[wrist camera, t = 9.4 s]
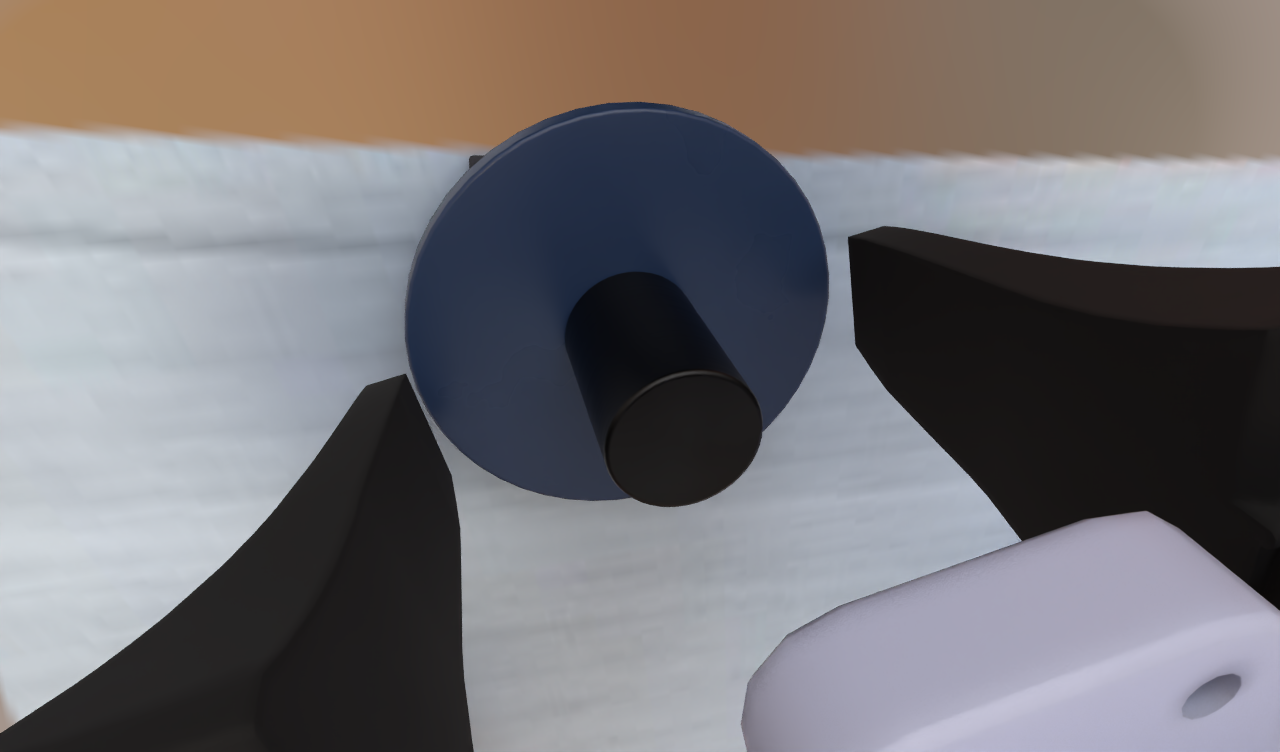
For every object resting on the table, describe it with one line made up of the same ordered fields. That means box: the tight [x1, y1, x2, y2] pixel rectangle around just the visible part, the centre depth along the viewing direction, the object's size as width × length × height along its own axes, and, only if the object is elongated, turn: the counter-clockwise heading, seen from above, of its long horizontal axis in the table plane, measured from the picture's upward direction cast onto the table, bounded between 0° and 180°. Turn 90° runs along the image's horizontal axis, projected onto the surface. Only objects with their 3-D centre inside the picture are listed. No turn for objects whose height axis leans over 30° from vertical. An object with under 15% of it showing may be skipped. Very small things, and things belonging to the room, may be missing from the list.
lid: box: [405, 102, 829, 507], centre depth 12 cm, size 7×7×4 cm
